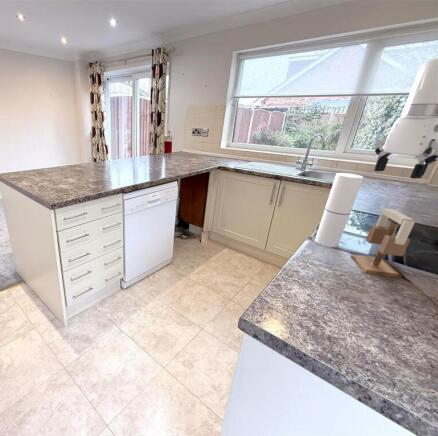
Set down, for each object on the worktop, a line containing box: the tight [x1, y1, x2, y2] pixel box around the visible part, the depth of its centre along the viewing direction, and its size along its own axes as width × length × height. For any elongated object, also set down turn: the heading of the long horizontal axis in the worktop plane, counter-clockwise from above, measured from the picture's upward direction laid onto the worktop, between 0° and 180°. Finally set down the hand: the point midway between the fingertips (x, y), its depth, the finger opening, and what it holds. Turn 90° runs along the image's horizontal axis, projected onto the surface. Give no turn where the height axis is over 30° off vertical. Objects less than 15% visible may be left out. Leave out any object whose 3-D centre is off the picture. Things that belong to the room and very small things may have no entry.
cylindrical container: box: [314, 172, 364, 248], centre depth 85 cm, size 7×7×25 cm
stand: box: [350, 218, 404, 279], centre depth 72 cm, size 9×9×16 cm
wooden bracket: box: [365, 208, 416, 257], centre depth 71 cm, size 5×10×11 cm, turn 166°
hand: (396, 174), depth 73 cm, fingers open, 9 cm apart
